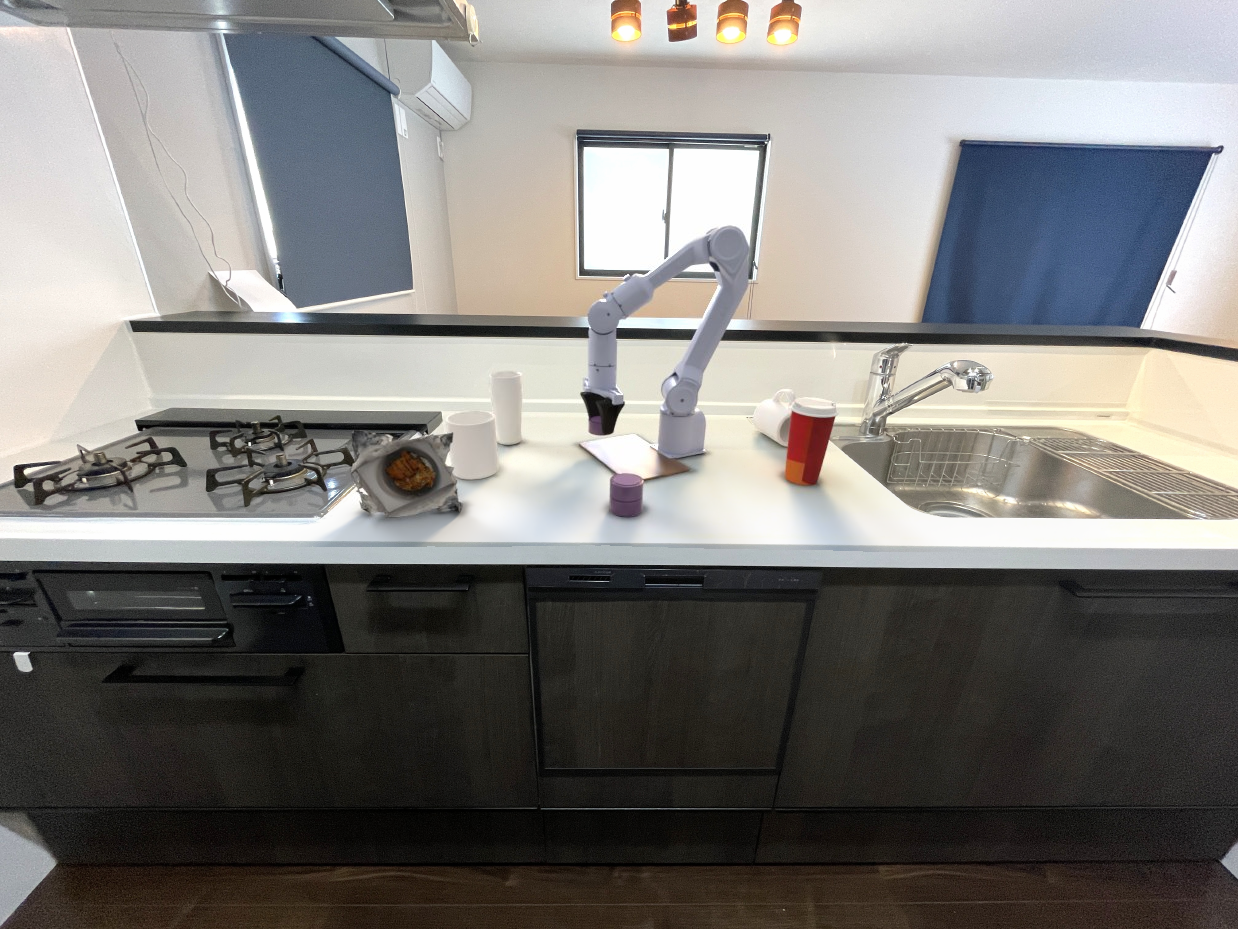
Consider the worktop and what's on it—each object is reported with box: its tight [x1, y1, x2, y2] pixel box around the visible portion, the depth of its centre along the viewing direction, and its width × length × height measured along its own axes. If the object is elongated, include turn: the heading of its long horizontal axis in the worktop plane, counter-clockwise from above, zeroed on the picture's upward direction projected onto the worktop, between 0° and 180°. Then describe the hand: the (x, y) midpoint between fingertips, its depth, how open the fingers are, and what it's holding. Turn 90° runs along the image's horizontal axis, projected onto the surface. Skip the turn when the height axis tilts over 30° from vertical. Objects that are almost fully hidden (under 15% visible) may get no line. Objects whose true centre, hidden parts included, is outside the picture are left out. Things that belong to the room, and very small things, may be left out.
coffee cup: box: [784, 396, 839, 486], centre depth 91 cm, size 8×8×15 cm
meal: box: [349, 429, 464, 519], centre depth 76 cm, size 15×4×13 cm, turn 98°
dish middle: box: [609, 473, 644, 502], centre depth 79 cm, size 5×5×3 cm
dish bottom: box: [608, 495, 644, 518], centre depth 81 cm, size 5×5×3 cm
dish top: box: [587, 416, 615, 437], centre depth 102 cm, size 5×5×3 cm
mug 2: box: [752, 388, 797, 447], centre depth 111 cm, size 8×10×12 cm
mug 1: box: [444, 409, 500, 481], centre depth 93 cm, size 9×12×11 cm
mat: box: [578, 433, 692, 482], centre depth 102 cm, size 14×22×1 cm, turn 28°
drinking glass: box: [488, 370, 524, 446], centre depth 105 cm, size 7×7×15 cm
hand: (601, 428), depth 103 cm, fingers closed on dish top, 5 cm apart
